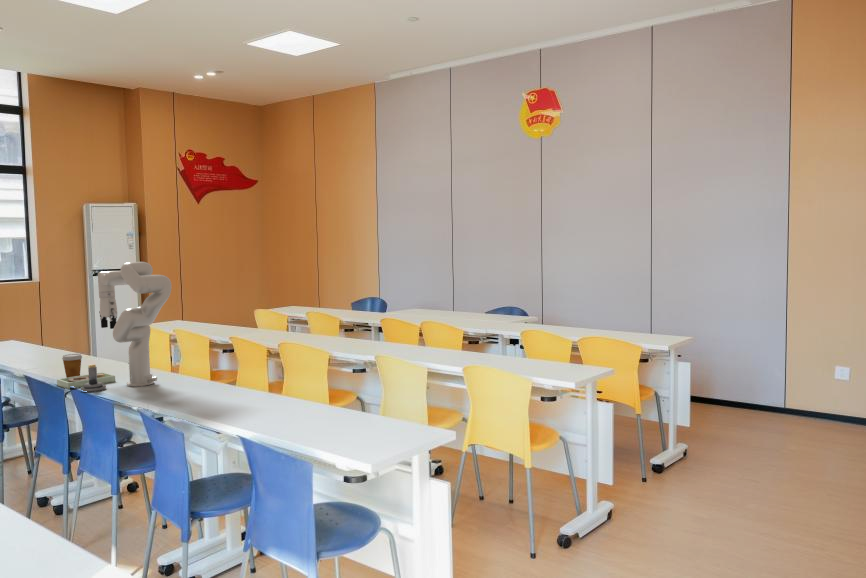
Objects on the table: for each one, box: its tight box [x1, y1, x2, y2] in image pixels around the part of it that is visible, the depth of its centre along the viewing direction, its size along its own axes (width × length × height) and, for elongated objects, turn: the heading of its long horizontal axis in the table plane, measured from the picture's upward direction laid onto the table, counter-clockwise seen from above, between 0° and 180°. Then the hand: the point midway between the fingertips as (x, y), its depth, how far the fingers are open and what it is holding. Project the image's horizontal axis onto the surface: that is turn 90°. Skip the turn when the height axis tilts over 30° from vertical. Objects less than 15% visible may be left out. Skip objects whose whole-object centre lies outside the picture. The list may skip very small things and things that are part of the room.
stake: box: [80, 363, 107, 393], centre depth 334 cm, size 11×11×12 cm
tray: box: [56, 371, 116, 390], centre depth 349 cm, size 23×15×3 cm, turn 138°
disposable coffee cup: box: [61, 353, 83, 378], centre depth 365 cm, size 10×10×12 cm
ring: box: [68, 374, 105, 383], centre depth 349 cm, size 16×10×3 cm, turn 138°
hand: (108, 328), depth 359 cm, fingers open, 9 cm apart
